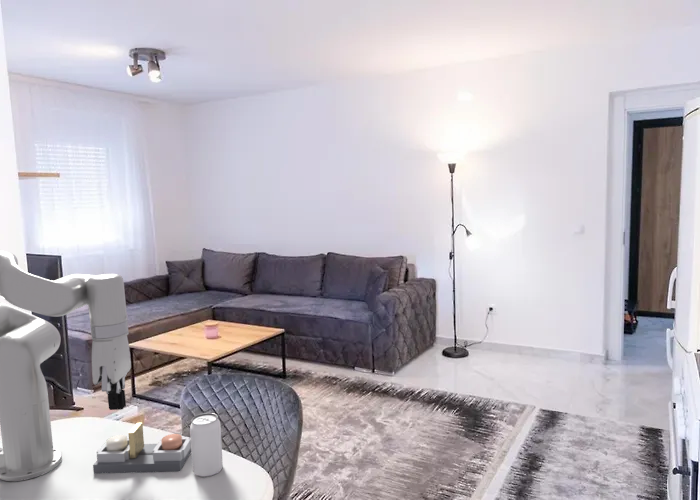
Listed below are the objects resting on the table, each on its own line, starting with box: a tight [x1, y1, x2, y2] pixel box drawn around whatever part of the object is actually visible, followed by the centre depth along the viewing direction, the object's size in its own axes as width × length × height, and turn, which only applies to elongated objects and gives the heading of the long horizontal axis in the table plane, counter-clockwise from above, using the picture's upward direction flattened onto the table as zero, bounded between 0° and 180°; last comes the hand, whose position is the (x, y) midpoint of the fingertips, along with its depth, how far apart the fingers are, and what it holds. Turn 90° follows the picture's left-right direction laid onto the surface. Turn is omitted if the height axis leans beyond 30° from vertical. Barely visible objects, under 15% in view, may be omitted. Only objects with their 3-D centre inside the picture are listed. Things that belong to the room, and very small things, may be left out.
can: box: [189, 412, 224, 478], centre depth 116 cm, size 6×6×12 cm
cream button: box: [105, 434, 128, 452], centre depth 120 cm, size 4×4×2 cm
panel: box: [92, 436, 191, 475], centre depth 120 cm, size 20×9×4 cm, turn 90°
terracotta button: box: [160, 433, 183, 450], centre depth 120 cm, size 4×4×2 cm
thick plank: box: [128, 422, 145, 458], centre depth 120 cm, size 1×5×6 cm, turn 0°
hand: (117, 408), depth 119 cm, fingers closed
